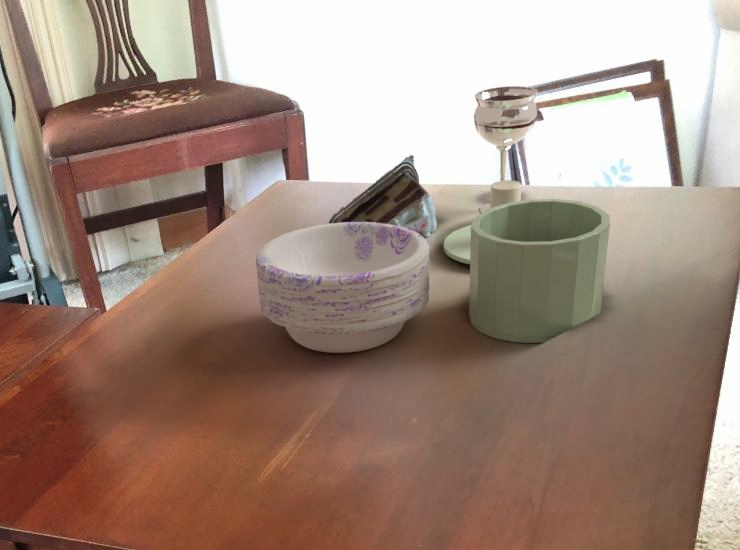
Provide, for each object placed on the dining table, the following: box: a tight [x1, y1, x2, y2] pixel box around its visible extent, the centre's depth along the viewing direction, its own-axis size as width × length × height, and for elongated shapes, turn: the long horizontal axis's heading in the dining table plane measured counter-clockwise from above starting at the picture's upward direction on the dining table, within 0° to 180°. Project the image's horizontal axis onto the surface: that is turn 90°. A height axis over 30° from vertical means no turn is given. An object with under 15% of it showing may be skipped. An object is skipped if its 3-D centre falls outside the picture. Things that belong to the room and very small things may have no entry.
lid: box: [443, 179, 522, 265], centre depth 98 cm, size 12×12×7 cm
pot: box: [468, 198, 611, 344], centre depth 84 cm, size 11×11×8 cm
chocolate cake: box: [327, 154, 438, 238], centre depth 106 cm, size 10×7×12 cm
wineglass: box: [473, 85, 539, 213], centre depth 106 cm, size 7×7×12 cm
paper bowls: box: [255, 222, 430, 354], centre depth 86 cm, size 15×15×8 cm
